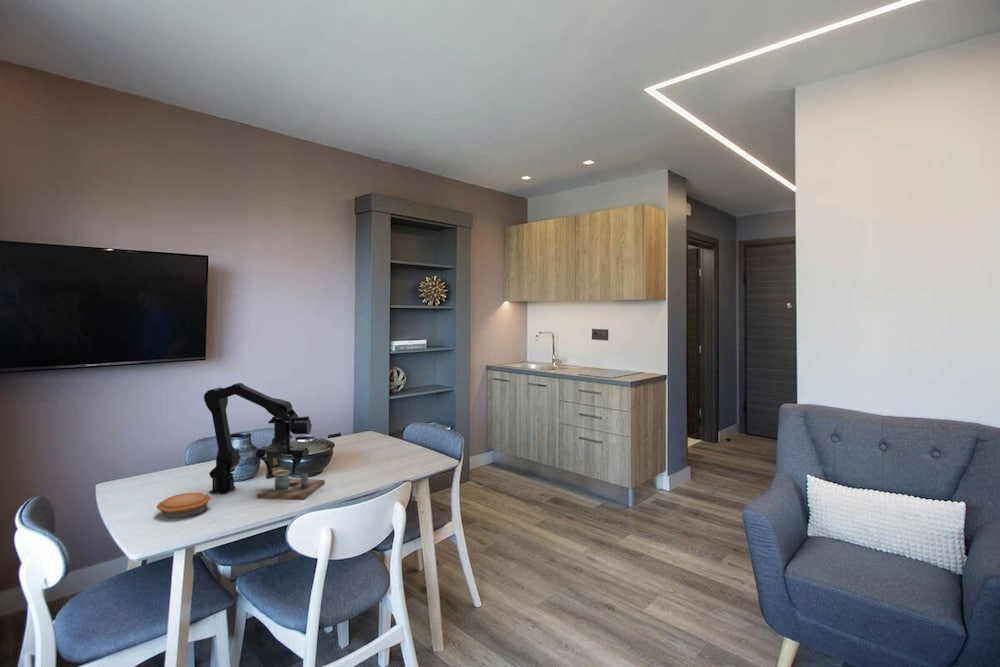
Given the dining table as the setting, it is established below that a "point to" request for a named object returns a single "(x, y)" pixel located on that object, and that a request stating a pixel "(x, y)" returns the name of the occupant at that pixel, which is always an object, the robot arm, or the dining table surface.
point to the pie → (183, 505)
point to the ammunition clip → (275, 468)
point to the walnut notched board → (294, 489)
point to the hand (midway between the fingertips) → (282, 474)
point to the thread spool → (282, 480)
